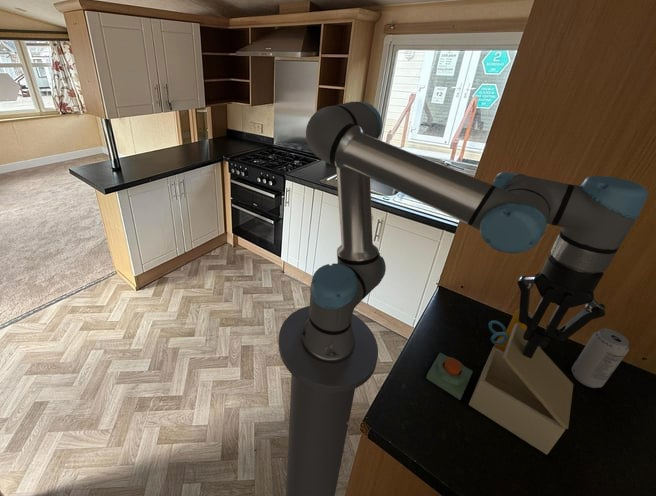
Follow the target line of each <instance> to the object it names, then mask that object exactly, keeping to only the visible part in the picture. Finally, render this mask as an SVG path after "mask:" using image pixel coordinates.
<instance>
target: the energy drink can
mask: <svg viewBox="0 0 656 496" xmlns="http://www.w3.org/2000/svg"><path fill="white" fill-rule="evenodd" d="M629 344H630V341H629V340H628V339H627V337H625V336H624V335H623V334H621V333H620V332H618V331H616V330H613V329H610V328H601V329H599V330H598V331H594V332H593V334H592V335H591V337H590V338H589V340H588V341H587V343H586V344H585V346H584V348H582V351H581V353H580V354H579V355H578V357H577V359H576V360H575V362H574V363H573V364H572V366H571V372H572V375H573V377H574V378H575V380H577V382H578V383H580V384H582V385H583V386H585V387H589V388H592V389H598V388H600V389H601V388H603V387H604V385H606V383H607V382H608V380H609V379H610V377H611V376H612V375H613V373H614V372H615V370H616V369H617V368H618V366H619V365H620V364H621V362H622V361H623V360H624V358H625V357H626V356H627V354H628V353H629V351H630V348H629Z"/></svg>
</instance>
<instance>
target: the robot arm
mask: <svg viewBox="0 0 656 496" xmlns="http://www.w3.org/2000/svg"><path fill="white" fill-rule="evenodd" d="M382 131H383V119H382V116H381V114H380V112H379V110H378V109H377V108H375V106H374V105H372V104H371V103H369V102H365V101H347V102H343V103H340V104H335V105H329V106H324V107H322V108H320V109H318V110H317V111H316V112H314V113H313V114H312V116H311V117H310V119H309V120H308V123H307V124H306V129H305V139H306V143H307V145H308V147H309V150H310V151H311V152H312V153H313V155H315V156H316V157H318V159H320V160H321V161H323V162H324V163H326V164H328V165H331V166H332V167H334V168H335V170H336V184H337V185H336V187H337V199H338V212H339V227H340V239H341V240H340V241H341V244H340V245H339V246H338V247H337V248H336V258H337V263H331V264H329V263H327V264H324V265H322V266H320V267H319V268H317V269H316V271H314V273H313V276H312V278H311V282H310V287H309V291H310V293H309V294H310V295H309V296H310V297H309V306H310V308H309V317H307V320H306V322H305V324H304V325H303V327H302V331H301V342H302V345H303V347H304V349H305V350H306V352H307V353H308V354H309V355H310V356H312V357H313V358H315V359H317V360H319V361H322V362H325V363H338V362H342V361H344V360H346V359H347V358H349V357H350V356H351V354H352V353H353V350H354V346H355V336H354V333H353V330H352V326H351V321H352V315H353V314H354V310H355V308H357V306H358V305H360V303H361V302H362V301H363V300H364V299H365V298H366V297H368V295H369V294H370V293H372V291H373V290H375V288H376V287H378V286H379V285H380V283H382V280H383V279H384V277H385V275H386V269H387V267H386V266H387V265H386V262H385V259H384V256H381V253H380V252H379V247H378V246H376V245H375V244H374V243H373V217H372V194H371V193H372V192H371V191H372V189H371V179H372V180H373V181H376V182H378V183H380V184H382V185H384V186H386V187H388V188H390V189H393V190H395V191H396V192H399V193H401V194H403V195H405V196H407V197H410V198H411V199H414V200H416V201H418V202H420V203H422V204H424V205H426V206H428V207H430V208H432V209H435V210H437V211H439V212H441V213H443V214H445V215H447V216H449V217H451V218H454V219H456V220H458V221H460V222H462V223H464V224H466V225H469V226H470V227H472V228H474V229H476V230H478V231H479V234H480V236H481V238H482V239H483V241H484V242H485V243H486V244H487V245H488V246H489V247H490V248H492V249H493V250H495V251H498V252H500V253H504V254H521V253H525V252H527V251H530V250H532V249H534V247H536V245H538V244H539V242H540V240H541V239H542V237H544V235H545V233H546V229H547V227H548V225H551V226H555V227H556V226H557V227H560V228H561V229H560V231H559V233H558V235H557V237H556V240H555V242H554V243H553V246H552V248H551V250H550V253H549V254H548V256H547V258H546V260H545V262H544V264H543V266H542V269H541V270H540V271H539V272H538V273H536V274H535V275H534V276H526V275H522V274H521V275H520V276H519V278H518V279H517V285H518V288H519V291H520V294H519V295H520V296H519V297H520V298H519V308H520V309H519V322H520V323H522V324H525V325H526V326H527V328H526V330H525V332H524V335H523V339H524V340H527V341H528V342H527V344H526V346H525V348H524V351H523V355H524V356H526V357H528V358H530V359H531V358H532V356H533V355H534V353H535V351H536V349H537V347H538V346H540V347H541V349H545V348H547V346H548V344H549V343H550V341H552V339H557V340H558V341H561V342H566V340H568V339H569V338H570V337H572V336H573V335H574V334H576V333H577V332H578V331H580V330H581V329H583V327H584V326H586V325H587V324H588V323H590V322H591V321H592V320H595V319H599V318H603V317H605V315H606V306H605V304H603V303H599V302H598V301H596V300H595V293H594V292H595V290H596V288H597V287H598V285H599V283H600V282H601V280H602V279H603V276H604V272H606V271H607V270H608V268H609V266H610V264H611V263H612V261H613V260H614V258H615V256H616V254H617V252H618V250H619V249H620V247H621V245H622V244H623V242H624V240H625V239H626V238H627V236H628V234H629V232H630V231H631V229H632V227H633V226H634V224H635V223H636V222H637V220H638V219H639V218H640V217H639V215H640V214H641V212H642V209H643V207H644V205H645V203H646V201H647V199H648V196H649V192H648V190H647V188H646V187H645V186H644V185H641V184H639V183H637V182H635V181H632V180H628V179H625V178H620V177H615V176H605V175H591V176H587V177H586V178H585V179H584V181H583V182H581V184H580V185H579V184H571V183H566V182H560V181H555V180H551V179H546V178H541V177H540V178H539V177H535V176H531V175H530V176H529V175H527V174H524V173H514V172H508V171H502V172H500V173H497V174H496V176H495V177H494V180H493V181H492V183H489V182H487V181H485V180H482V179H480V178H476V177H474V176H472V175H469V174H467V173H464V172H461V171H459V170H456V169H454V168H451V167H449V166H446V165H444V164H441V163H439V162H436V161H434V160H431V159H428V158H426V157H423V156H421V155H419V154H416V153H414V152H411V151H409V150H405V149H403V148H401V147H400V146H399V147H398V146H396V145H393V144H391V143H388V142H386V141H383V140H381V139H379V137H380V136H381V134H382ZM534 285H535V286H536V288H537V291H538V294H539V295H540V300H539V302H538V304H537V305H536V308H535V310H534V312H533V316H532V318H530V317H529V316H528V312H529V311H530V310H529V309H530V299H531V298H530V297H531V289H533V287H534ZM551 303H552V304H555V305H556V307H555V309H554V310H553V313H552V315H551V317H550V319H549V321H548V323H547V324H546V326H545V328H543V327H541V326H539V325H540V323H541V321H542V319H543V317H544V315H545V314H546V311H547V310H548V308H549V306H550V305H551ZM583 305H585V306H584V308H583V309H581V311H579V312H578V313H576V315H574V316H573V317H572V318H571V319H570V320H569V321H566V323H565V324H563V325H562V326H561V327H559V326H560V324H561V322H562V321H563V318H564V316H566V315H567V312H568V310H569V309H570V308H571V309H572V308H576V307H579V306H583Z"/></svg>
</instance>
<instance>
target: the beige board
mask: <svg viewBox="0 0 656 496" xmlns="http://www.w3.org/2000/svg"><path fill="white" fill-rule="evenodd" d="M524 332H525V331H524V329H523V328H522V327H521V326H520V325H519V324H518V323H517V324H515V325H514V327H513V330H512V333H511V336H510V338H509V341H508V344H507V347H506V349H505V352H504V355H503V359H504V360H505V361H506V363H507V364H508V365H509V366H510V367H511V368H512V370H513V371H514V372H515V373H516V374H517V375H518V376H519V378H520V379H521V380H522V381H523V382H524V383H525V385H526V386H527V387H528V388H529V389H530V390H531V392H532V393H533V394H534V395H535V396H536V397H537V398H538V400H539V401H540V402H541V403H542V404H543V405H544V407H545V408H546V409H547V410H548V411H549V412H550V414H551V415H552V416H553V417H554V418H555V419H556V420H557V422H558V423H559V424H560V425H561V426H562V427H563V429H565V430H568V429H569V425H570V416H571V408H572V399H573V392H574V391H573V390H574V383H573V381H571V380H570V379H569V378H568V377H567V375H566V374H565V373H564V372H563V371H562V370H561V369H560V368H559V367H558V365H557V364H556V363H555V362H554V361H553V360H552V359H551V358H550V357H549V355H547V353H545V351H544V350H543V348H542V347H541V348H540V347H539V346H538V347H537V349H536V351H535V353H534V355H533V356H532V358H531V359H530V358H528V357H526V356H524V355H523V351H524V348H525V346H526V344H527V342H528V341H527V340H524V339H523V335H524Z"/></svg>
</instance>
